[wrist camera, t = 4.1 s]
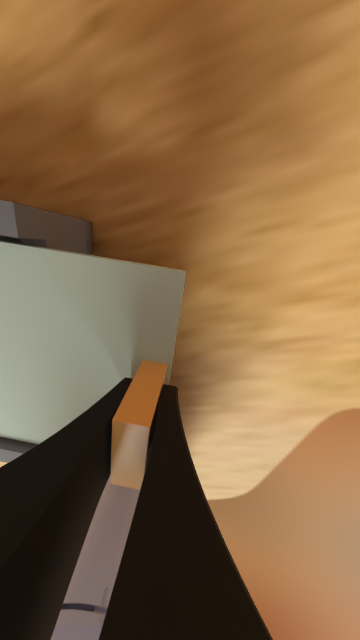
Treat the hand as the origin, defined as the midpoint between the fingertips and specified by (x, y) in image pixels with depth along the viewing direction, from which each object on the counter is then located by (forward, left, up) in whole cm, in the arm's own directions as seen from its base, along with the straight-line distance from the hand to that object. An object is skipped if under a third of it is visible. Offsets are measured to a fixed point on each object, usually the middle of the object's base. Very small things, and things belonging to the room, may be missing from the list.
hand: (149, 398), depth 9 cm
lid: (0, +8, -1) cm, 8 cm away
